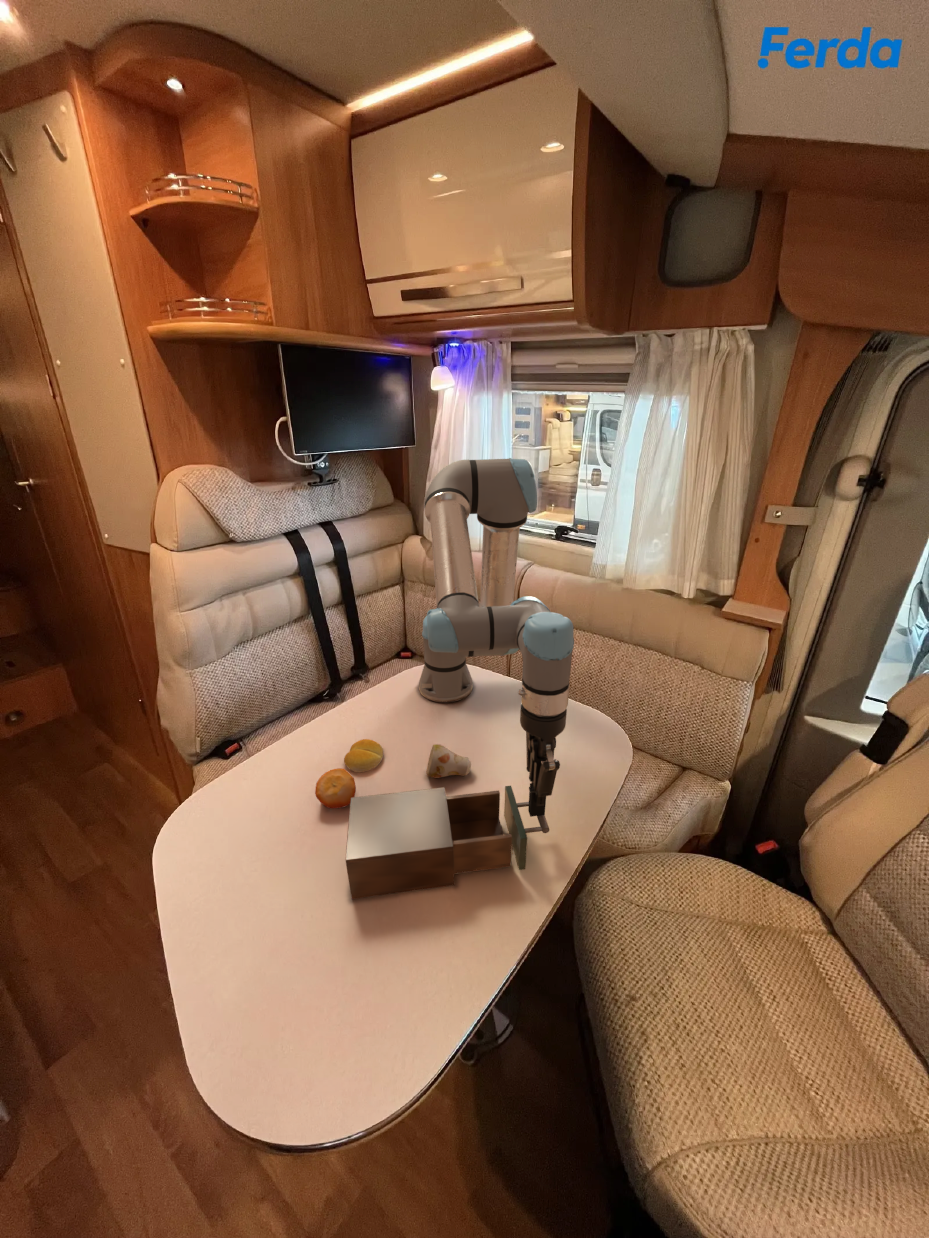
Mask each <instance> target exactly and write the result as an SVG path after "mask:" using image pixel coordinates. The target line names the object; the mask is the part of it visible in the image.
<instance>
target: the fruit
mask: <svg viewBox="0 0 929 1238" xmlns="http://www.w3.org/2000/svg"><path fill="white" fill-rule="evenodd" d="M356 792H357V786H356V781H355V778H354V777H353V775H352V774H351V773H350V772H349V771H347V770H346V769H345V768H343V767H342V768H338V767H337V768H333V769H330V770H328V771H326V772H324V773H323V774H322V775H321V776H320V777H319V778H318V780H317V781H316V784H315V790H314V794H315V798H316V799H317V800H318V802H319V803H320V804H322V805H323V806H324V807H325V808H327V809H330V810H331V809H341V808H342V809H343V808H345V807H347V806H350V801H351V798H352V797H356Z"/></svg>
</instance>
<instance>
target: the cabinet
mask: <svg viewBox="0 0 929 1238" xmlns="http://www.w3.org/2000/svg"><path fill="white" fill-rule="evenodd" d="M446 796H447V793H446V787H445V786H443V787H435V788H434V787H433V788H425V789H416V790H406V791H398V792H388V793H380V794H379V793H378V794H372V795H371V794H370V795H361V796H354V797H352V798H351V801H350V804H349V813H348V826H347V835H346V837H347V839H346V849H345V866H346V872H347V879H348V884H349V892H350V896H351V900H355V899H364V898H370V897H372V898H373V897H379V896H387V895H393V894H401V893H409V892H416V891H422V890H431V889H437V888H444V887H452V886H455V874H454V847H453V840H452V833H451V826H450V819H449V812H448V805H447V798H446Z"/></svg>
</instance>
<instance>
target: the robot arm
mask: <svg viewBox="0 0 929 1238" xmlns="http://www.w3.org/2000/svg"><path fill="white" fill-rule="evenodd" d="M423 503H424V504H423V505H424V506H423V507H424V515H425V518H426V520H427V521H428V522H429V524H430V533H431V534H430V535H431V536H430V537H431V551H432V561H433V562H432V563H433V575H434V587H435V601H436V608H433V609H429V610H428V611H427V612H426V615H425V617H424V618H423V621H422V632H421V636H422V638H423V662H424V665H423V667H422V671H421V674H420V678H419V682H418V690H419V693H420V694H421V696H423V697H424V698H425V699H427V700H429V701H431V702H435V703H453V702H458V701H461V700H464V699H465V698H466V697H468V696H469V695H470V694H471V693H472V691H473V688H474V687H473V683H474V681H473V677H472V675H471V673H470V670H469V667H468V664H467V658H474V657H494V656H495V657H496V656H501V657H503V656H507V655H514V654H516V653H518V652H520V654H521V656H522V671H521V672H522V674H521V675H522V676H521V687H522V688H521V689H519V690H518V696H520V697H521V699H520V700H521V701H520V702H521V704H520V713H519V723H520V726H521V728H522V729H523V730H524V731H525V735H526V736H525V747H526V752H525V753H526V771H527V773H528V780H529V782H530V783H529V786H528V791H529V793H528V802H529V806H527V807H528V808H527V810H528V811H527V812H528V814H529V817H537V816H541V815H545V816H546V807H547V805H546V804H547V797H549V796H552V795H553V792H554V786H555V783H556V782H555V781H556V777H557V773H558V770H559V769H560V767H561V763H560V760H559V759H558V760H557V759H554V757H555V750H556V748H557V739H556V738H557V737H558V736H559V735H560V734H562V732H564V731H565V729H566V725H567V714H568V707H569V695H570V678H571V669H572V659H573V651H574V647H575V646H574V645H575V638H574V630H575V629H574V624H573V622H572V620H571V619H570V618H569V617H567V616H564V615H563V614H562V613H558V612H553V611H551V609H549V608H548V607H547V605H545V604H544V602H543V601H542V600H540V599H539V598H537V597H535V596H530V595H529V596H528V595H526V596H525V595H524V596H521V597H519V598H517V599H516V600H514V598H515V597H514V596H515V584H516V575H517V574H516V573H517V562H518V550H519V539H520V528H521V527H523V526H525V524H526V523H527V521H528V515H529V514H532V513H534V512H536V510H537V507H538V489H537V481H536V475H535V471H534V469H533V466H532V464H531V463H530V461H529V460H527V459H526V458H525V459H524V458H512V457H508V458H487V459H459V460H456V461H453V462H451V463H449V464H448V465H445V467H443V468H442V469H441V470H440V471H438V473H436V475H435V476H434V477H433V479H432V480H431V482H430V483H429V485H428V488H427V489H426V492H425V497H424V502H423ZM470 515H476V519H477V521H478V523H480V525H482V526H483V527H482V548H481V550H482V551H481V573H480V574H481V576H480V597H479V596H478V590H477V589H478V588H477V581H476V574H475V567H474V561H473V554H472V547H471V539H470V533H469V525H468V518H469V516H470ZM479 599H480V600H479ZM479 601H480V602H479Z"/></svg>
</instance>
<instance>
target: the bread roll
mask: <svg viewBox="0 0 929 1238" xmlns="http://www.w3.org/2000/svg"><path fill="white" fill-rule="evenodd" d="M383 757H384V748H383V747H382V745H381V744H380V743H379V742H377V741H376V740H373V739H369V738H365V739H360V740H357V741H355V742H354V743H353V744H352V745H351V747H350V749H349V751H348V752H347V753H346V754H345V755H344V758H343V762H344V764H345V766H346V767H347V768H348V769H349V770H350V771H352V772H355V773H365V772H368V771H370V770H374V769H375V768H376V767H377V766H378V765H379V764H380V763H381V761H382V758H383Z"/></svg>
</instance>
